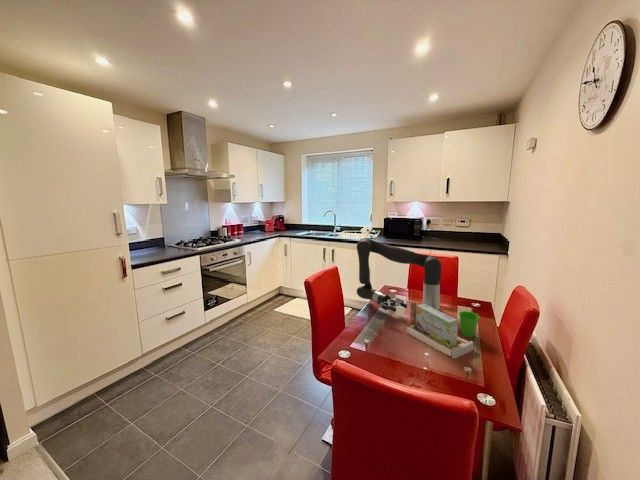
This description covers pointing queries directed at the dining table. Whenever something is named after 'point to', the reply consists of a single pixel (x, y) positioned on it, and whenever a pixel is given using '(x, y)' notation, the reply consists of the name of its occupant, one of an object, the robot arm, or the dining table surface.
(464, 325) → the cup
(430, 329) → the snack box
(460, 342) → the pull frame
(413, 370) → the dining table surface
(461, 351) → the frame
